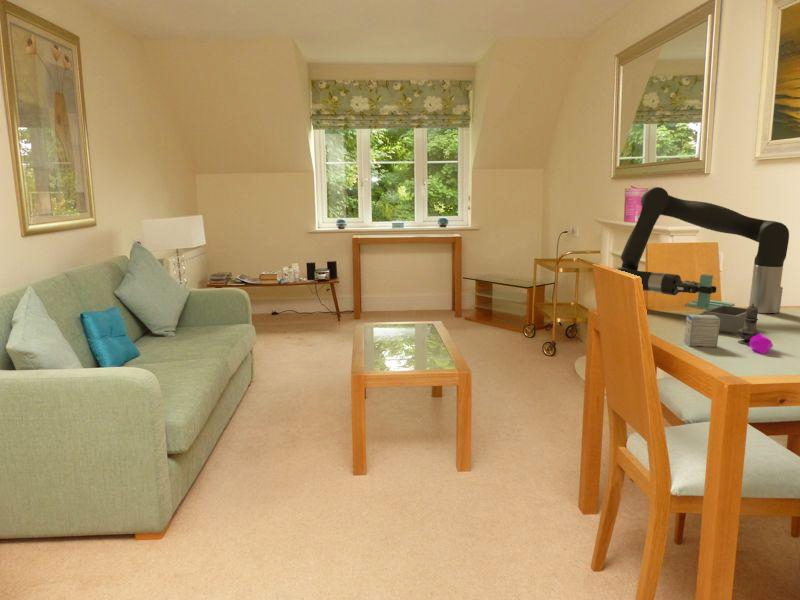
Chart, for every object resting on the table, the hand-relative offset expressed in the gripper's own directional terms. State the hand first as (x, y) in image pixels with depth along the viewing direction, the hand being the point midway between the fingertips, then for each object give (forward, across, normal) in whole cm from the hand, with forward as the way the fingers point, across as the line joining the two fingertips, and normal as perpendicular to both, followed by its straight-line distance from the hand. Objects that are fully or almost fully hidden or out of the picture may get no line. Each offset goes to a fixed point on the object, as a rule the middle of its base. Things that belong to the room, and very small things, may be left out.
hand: (713, 290), depth 215 cm
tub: (+10, -12, +10) cm, 18 cm away
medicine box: (+12, -41, +10) cm, 44 cm away
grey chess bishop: (+21, -28, +10) cm, 36 cm away
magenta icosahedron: (+26, -35, +10) cm, 45 cm away
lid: (-3, +6, +7) cm, 10 cm away
